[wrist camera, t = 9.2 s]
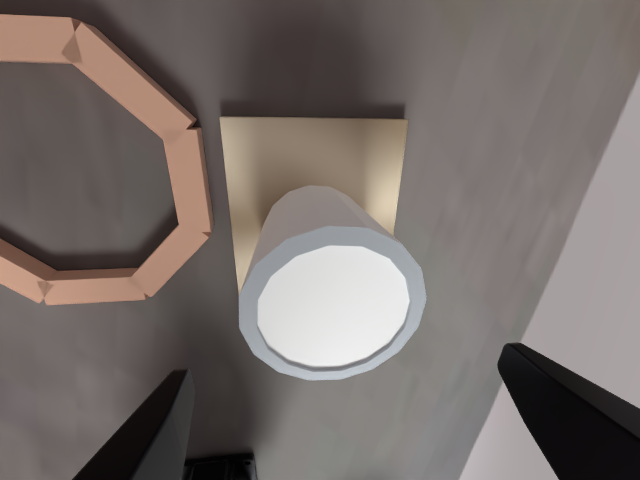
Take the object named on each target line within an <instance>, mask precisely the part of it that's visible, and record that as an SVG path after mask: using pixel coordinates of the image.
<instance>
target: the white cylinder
mask: <svg viewBox="0 0 640 480" xmlns="http://www.w3.org/2000/svg"><path fill="white" fill-rule="evenodd" d="M426 299H427V297H426V291H425V286H424V280H423V274H422V269H421V268H420V266H419V265H418V264H417V263H416V261H415V260H414V259H413V257H412V256H411V255H410V254H409V252H408V251H407V250H406V249H405V247H404V246H403V245H402V244H401V243H400V242H399V241H398V240H397V239H396V238H395V237H394V236H392V235H391V234H390V233H389V232H388V231H387V230H386V229H385V228H383V227H382V226H381V225H380V224H379V223H378V222H377V221H376V220H374V219H373V218H372V217H371V216H370V215H369V214H368V213H367V212H365V211H364V210H363V209H362V208H361V207H360V206H359V205H358V204H357V203H355V202H354V201H353V200H352V199H351V198H350V197H349V196H348V195H346V194H344V193H342V192H340V191H338V190H336V189H334V188H332V187H330V186H314V185H308V186H305V187H302V188H299V189H296V190H293V191H289V192H288V193H287V194H285V195H284V196H283V197H282V198H281V199H279V200H278V201H277V202H276V203H275V204H274V205H273V206H272V208H271V210H270V212H269V214H268V216H267V218H266V220H265V222H264V225H263V227H262V230H261V233H260V236H259V239H258V242H257V245H256V248H255V251H254V254H253V257H252V260H251V262H250V265H249V268H248V271H247V274H246V277H245V280H244V283H243V286H242V289H241V292H240V294H239V329H240V331H241V332H242V334H243V336H244V338H245V340H246V341H247V343H248V345H249V347H250V349H251V350H252V352H253V354H254V355H255V356H257V357H258V358H260V359H261V360H262V361H264V362H265V363H266V364H268V365H269V366H271V367H272V368H273V369H275V370H276V371H277V372H280V373H284V374H287V375H291V376H295V377H298V378H302V379H305V380H335V379H344V378H347V377H350V376H353V375H356V374H359V373H362V372H366V371H369V370H372V369H374V368H375V367H377V366H378V365H380V364H381V363H383V362H384V361H386V360H387V359H389V358H390V357H391V356H393V355H394V354H396V353H397V352H399V351H400V350H401V348H402V347H403V346H404V345H405V343H406V342H407V341H408V339H409V338H410V337H411V336H412V334H413V333H414V332H415V331H416V329H417V328H418V326H419V323H420V319H421V316H422V313H423V309H424V306H425V302H426Z"/></svg>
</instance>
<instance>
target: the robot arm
mask: <svg viewBox="0 0 640 480" xmlns="http://www.w3.org/2000/svg"><path fill="white" fill-rule="evenodd" d="M498 371H499V373H500V375H501V377H502V379H503V381H504V383H505V385H506V387H507V389H508V391H509V393H510V395H511V397H512V399H513V401H514V403H515V405H516V407H517V409H518V411H519V413H520V415H521V417H522V419H523V421H524V423H525V424H526V426H527V428H528V430H529V431H530V433H531V435H532V436H533V438H534V439H535V441H536V443H537V444H538V446H539V448H540V449H541V451H542V453H543V454H544V456H545V458H546V459H547V461H548V462H549V464H550V466H551V467H552V469H553V471H554V472H555V474H556V476H557V477H558V479H559V480H640V409H639V408H638V407H635V406H634V405H632V404H630V403H629V402H627V401H625V400H623V399H621V398H620V397H618V396H616V395H614V394H612V393H610V392H609V391H607V390H605V389H603V388H601V387H600V386H598V385H596V384H594V383H592V382H591V381H589V380H587V379H585V378H583V377H582V376H579V375H578V374H576V373H574V372H572V371H571V370H569V369H567V368H565V367H563V366H562V365H560V364H558V363H556V362H554V361H553V360H550V359H549V358H547V357H545V356H544V355H542V354H540V353H538V352H536V351H534V350H532V349H531V348H529V347H527V346H525V345H524V344H522V343H507V344H505V345H504V347H503V350H502V352H501V355H500V358H499V360H498ZM194 402H195V387H194V382H193V378H192V373H191V371H190V369H176V370H173V371H172V372H171V373H170V374H169V375H168V376H167V377H166V378H165V379H164V380H163V381H162V382H161V384H160V385H159V386H158V387H157V388H156V389H155V390H154V391H153V392H152V393H151V394H150V395H149V397H148V398H147V399H146V400H145V401H144V402H143V403H142V404H141V405H140V406H139V407H138V408H137V410H136V411H135V412H134V413H133V414H132V415H131V416H130V417H129V418H128V419H127V420H126V421H125V423H124V424H123V425H122V426H121V427H120V428H119V429H118V430H117V431H116V432H115V433H114V435H113V436H112V437H111V438H110V439H109V440H108V441H107V442H106V443H105V444H104V445H103V446H102V448H101V449H100V450H99V451H98V452H97V453H96V454H95V455H94V456H93V457H92V458H91V459H90V461H89V462H88V463H87V464H86V465H85V466H84V467H83V468H82V469H81V470H80V471H79V472H78V474H77V475H76V476H75V477H74V478H73V479H72V480H257V478H256V469H255V460H254V456H253V455H251V454H244V455H236V456H227V457H218V458H209V459H201V460H192V461H185V458H186V452H187V446H188V439H189V433H190V427H191V421H192V414H193V408H194Z"/></svg>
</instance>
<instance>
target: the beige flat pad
mask: <svg viewBox="0 0 640 480" xmlns="http://www.w3.org/2000/svg"><path fill="white" fill-rule="evenodd" d="M220 126H221V135H222V145H223V154H224V163H225V172H226V181H227V191H228V200H229V209H230V218H231V227H232V237H233V246H234V255H235V264H236V274H237V283H238V292H239V294H240V292H241V289H242V286H243V283H244V280H245V277H246V274H247V271H248V268H249V265H250V262H251V260H252V257H253V254H254V251H255V248H256V245H257V242H258V239H259V236H260V233H261V230H262V227H263V225H264V222H265V220H266V218H267V216H268V214H269V212H270V210H271V208H272V206H273V205H274V204H275V203H276V202H277V201H278V200H279V199H281V198H282V197H283V196H284V195H285V194H287V193H288V192H289V191H293V190H296V189H299V188H302V187H305V186H308V185H314V186H330V187H332V188H334V189H336V190H338V191H340V192H342V193H344V194H346V195H348V196H349V197H350V198H351V199H352V200H353V201H354V202H355V203H357V204H358V205H359V206H360V207H361V208H362V209H363V210H364V211H365V212H367V213H368V214H369V215H370V216H371V217H372V218H373V219H374V220H376V221H377V222H378V223H379V224H380V225H381V226H382V227H383V228H385V229H386V230H387V231H388V232H389V233H390V234H391V235H392V236H393V232H394V224H395V217H396V209H397V202H398V194H399V187H400V179H401V172H402V164H403V157H404V149H405V142H406V134H407V127H408V120H407V119H389V118H310V117H231V116H221V117H220Z"/></svg>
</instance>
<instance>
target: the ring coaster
mask: <svg viewBox="0 0 640 480" xmlns="http://www.w3.org/2000/svg"><path fill="white" fill-rule="evenodd" d="M0 62H24V63H57V64H74V65H75V66H76V67H77V68H78V69H80V70H81V71H82V72H83V73H84V74H86V75H87V76H88V77H89V78H90V79H91V80H93V81H94V82H95V83H96V84H97V85H99V86H100V87H101V88H102V89H103V90H105V91H106V92H107V93H108V94H109V95H111V96H112V97H113V98H114V99H115V100H117V101H118V102H119V103H120V104H121V105H123V106H124V107H125V108H126V109H127V110H128V111H130V112H131V113H132V114H133V115H134V116H136V117H137V118H138V119H139V120H140V121H142V122H143V123H144V124H145V125H146V126H148V127H149V128H150V129H151V130H152V131H154V132H155V133H156V134H157V135H158V136H160V137H161V138H162V139H163V142H164V148H165V153H166V158H167V164H168V169H169V174H170V180H171V185H172V190H173V196H174V201H175V207H176V212H177V217H178V223H179V224H178V225H177V226H176V227H175V228H174V229H173V230H172V232H171V233H170V234H169V235H168V236H167V237H166V238H165V239H164V240H163V241H162V242H161V244H160V245H159V246H158V247H157V248H156V249H155V250H154V251H153V252H152V253H151V254H150V256H149V257H148V258H147V259H146V260H145V261H144V262H143V263H142V264H141V265H140V266H139V268H117V269H94V270H70V271H57V270H55V269H53V268H51V267H50V266H48V265H46V264H44V263H43V262H41V261H39V260H37V259H36V258H34V257H32V256H30V255H28V254H27V253H25V252H23V251H21V250H20V249H18V248H16V247H14V246H13V245H11V244H9V243H7V242H6V241H4V240H2V239H0V283H1V284H3V285H4V286H6V287H8V288H10V289H12V290H14V291H16V292H18V293H20V294H22V295H24V296H26V297H28V298H30V299H32V300H33V301H35V302H37V303H40V302H41V301H42V300H45V302H46V304H47V305H58V304H76V303H95V302H113V301H132V300H146V298H147V297H148V296H150V297H152V296H153V295H154V294H155V293H156V292H157V291H158V290H159V289H160V288H161V287H162V286H163V285H164V284H165V283H166V282H167V281H168V280H169V279H170V278H171V277H172V275H173V274H174V273H175V272H176V271H177V270H178V269H179V268H180V267H181V266H182V265H183V264H184V263H185V262H186V261H187V260H188V259H189V258H190V257H191V256H192V255H193V254H194V253H195V252H196V251H197V250H198V248H199V247H200V246H201V245H202V244H203V243H204V242H205V241H206V240H207V239H208V238H209V236H210V234H211V232H212V228H213V226H214V220H213V212H212V205H211V197H210V190H209V182H208V175H207V167H206V160H205V152H204V145H203V137H202V130H201V127H192V126H193V124H194V123H195V122H196V121H197V119H196V118H195V117H194V116H192V115H191V114H190V113H189V112H188V111H187V110H186V109H185V108H184V107H183V106H181V105H180V104H179V103H178V102H177V101H176V100H175V99H174V98H173V97H172V96H170V95H169V94H168V93H167V92H166V91H165V90H164V89H163V88H162V87H161V86H159V85H158V84H157V83H156V82H155V81H154V80H153V79H152V78H151V77H150V76H148V75H147V74H146V73H145V72H144V71H143V70H142V69H141V68H140V67H139V66H137V65H136V64H135V63H134V62H133V61H132V60H131V59H130V58H129V57H128V56H126V55H125V54H124V53H123V52H122V51H121V50H120V49H119V48H118V47H117V46H115V45H114V44H113V43H112V42H111V41H110V40H109V39H108V38H107V37H106V36H104V35H103V34H102V33H101V32H100V31H99V30H98V29H97V28H96V27H94V26H91V25H88V24H85V22H82V21H79V20H76V19H73V18H69V17H48V16H27V15H5V14H0Z"/></svg>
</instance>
